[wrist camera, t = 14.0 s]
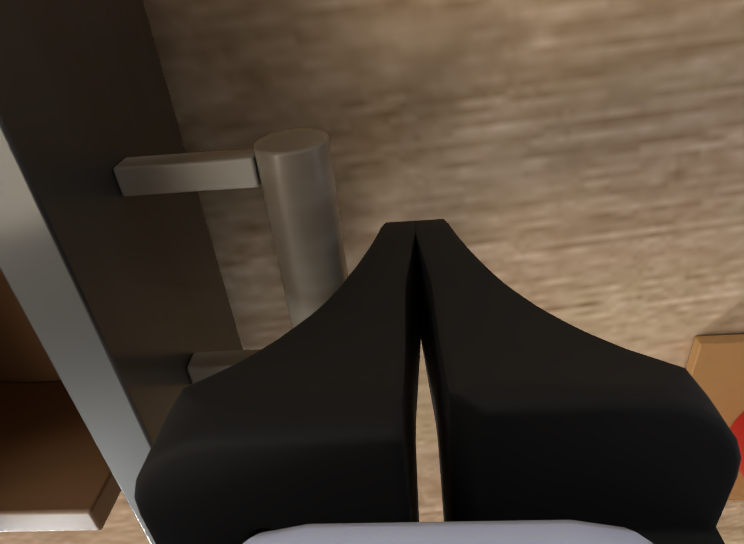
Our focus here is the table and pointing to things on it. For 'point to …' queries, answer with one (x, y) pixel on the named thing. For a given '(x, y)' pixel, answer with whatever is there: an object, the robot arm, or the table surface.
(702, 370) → the trivet
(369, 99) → the table surface
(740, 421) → the tin
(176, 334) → the drawer
